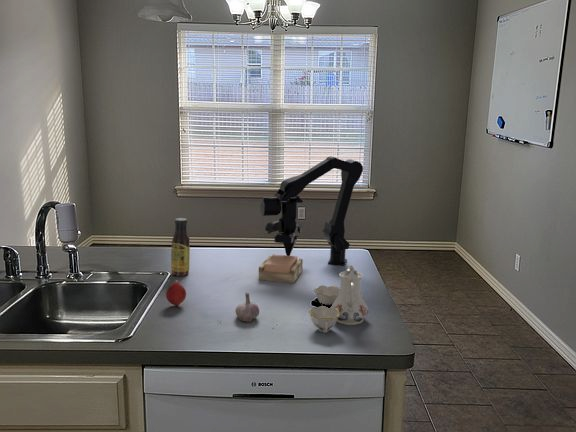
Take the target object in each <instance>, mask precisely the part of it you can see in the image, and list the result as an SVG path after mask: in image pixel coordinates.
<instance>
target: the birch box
mask: <svg viewBox="0 0 576 432" xmlns="http://www.w3.org/2000/svg"><path fill="white" fill-rule="evenodd" d="M271 256H272V255H269V256H268V257H267V258H266V259H265V260H264V261H263V262H262V263H261V264H260V265H259V266H258V280H259V281H269V282H278V283H279V282H280V283H289V284H294V283H295V282H296V281H297V279H298V278H299V276H300V274H301V273H302V272H303V261H304V259H303V258H298V259H297V262H296V264H295V265H294V266H293V268H292V269H291V272H290V273H281V272H270V271H264V264H265V263H266V262H267V261H268V260H269V258H270V257H271Z"/></svg>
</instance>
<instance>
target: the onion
mask: <svg viewBox="0 0 576 432" xmlns="http://www.w3.org/2000/svg"><path fill="white" fill-rule="evenodd" d="M165 298H166V300H167V301H168V303H170V304H171V305H173V306H175V307H179V306H180V305H181V304H182V303H183V302H184V301H185V300H186V298H187V291H186V288H185V287H184V286H183V285H182V284H180V283H179V280H175V281H174V282H172V283H171V284H170V285H169V287H168V288H167V290H166V292H165Z"/></svg>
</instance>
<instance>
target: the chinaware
mask: <svg viewBox="0 0 576 432" xmlns="http://www.w3.org/2000/svg"><path fill="white" fill-rule="evenodd" d="M354 268H355V267H354V266H353V265H352V264H350V265H349V267H347V269H345V271H341V272H340V273H339V276H340V288H339V287H338V286H336V285H331V286H327V285H320V286H318V287H317V288H314V289H313V292H314V293H315V294H316V297H317V300H318V302H319V303H320V304H321V303H322V304H321V306H318V307H317V308H315V307H313V308H312V307H311V308H309V310H308V314H309V316H310V317H311V322H312V323H313V325H314V326H315V327H316V328H317V331H319V332H320V333H325V334H327V333H329V332H330V331H331V329H332V328H333V327H335V325H336V324H337V323H338V324H342V325H344V326H346V325H347V326H356V325H359V324H360V325H361V324H362V323H363V322H364V321H365V320H364V318H365V317H366V316H367V315H368V314H369V312H370V311H369V308H368V304H367V303H366V301H365V300H364V298H363V296H362V292H361V291H362V290H361V281H362V278H363V274H362V273H361V272H358V271H357V270H356V269H354ZM323 304H325V305H330V304H332V306H331V307H330V308H328V307H326V306H323Z"/></svg>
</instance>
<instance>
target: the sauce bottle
mask: <svg viewBox="0 0 576 432" xmlns="http://www.w3.org/2000/svg"><path fill="white" fill-rule="evenodd" d="M187 223H188V219H187V218H184V217H179V218H178V217H177V218H175V219H174V224H175V229H174V230H175V231H174V235H173V237H172V240H171V249H170V250H171V254H170V255H171V258H170V259H171V263H170V264H171V265H170V267H171V268H170V269H171V274H172V275H173V276H175V275H176V276H175V277H177V276H178V277H184V276H187V275H188V274H189V272H190V254H191V253H190V248H191V247H190V236H189V234H188V233H187V231H188V230H187Z"/></svg>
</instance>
